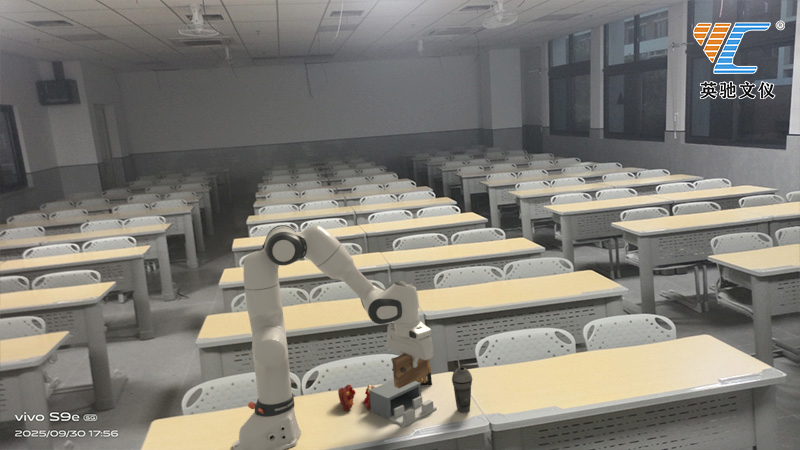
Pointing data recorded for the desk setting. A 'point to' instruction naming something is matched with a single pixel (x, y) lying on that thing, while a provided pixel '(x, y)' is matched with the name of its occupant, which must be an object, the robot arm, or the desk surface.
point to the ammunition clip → (426, 377)
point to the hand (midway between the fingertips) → (410, 365)
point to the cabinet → (400, 402)
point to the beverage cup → (462, 388)
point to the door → (408, 370)
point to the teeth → (348, 394)
